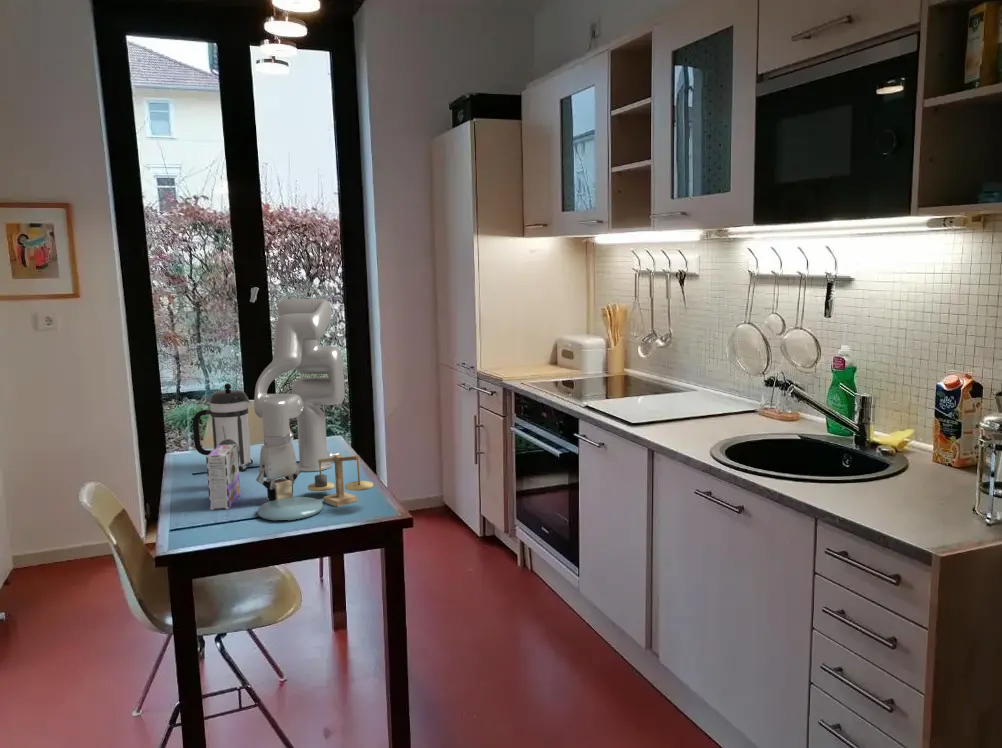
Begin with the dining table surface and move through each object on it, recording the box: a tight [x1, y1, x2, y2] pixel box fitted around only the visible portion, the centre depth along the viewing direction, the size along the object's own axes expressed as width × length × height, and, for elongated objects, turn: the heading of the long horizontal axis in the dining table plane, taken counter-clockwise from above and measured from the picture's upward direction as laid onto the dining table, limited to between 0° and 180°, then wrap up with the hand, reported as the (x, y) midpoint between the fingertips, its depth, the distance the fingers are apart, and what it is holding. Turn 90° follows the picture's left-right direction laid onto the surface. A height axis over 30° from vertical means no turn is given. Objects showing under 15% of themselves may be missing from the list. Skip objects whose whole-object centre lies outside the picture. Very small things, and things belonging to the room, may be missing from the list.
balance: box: [307, 454, 374, 508], centre depth 231 cm, size 8×28×16 cm, turn 47°
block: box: [274, 477, 294, 500], centre depth 234 cm, size 5×5×6 cm
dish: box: [257, 496, 324, 521], centre depth 223 cm, size 18×18×2 cm
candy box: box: [205, 444, 242, 511], centre depth 232 cm, size 14×6×16 cm, turn 5°
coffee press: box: [192, 383, 254, 472], centre depth 270 cm, size 17×16×30 cm
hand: (280, 498), depth 234 cm, fingers closed on block, 5 cm apart
